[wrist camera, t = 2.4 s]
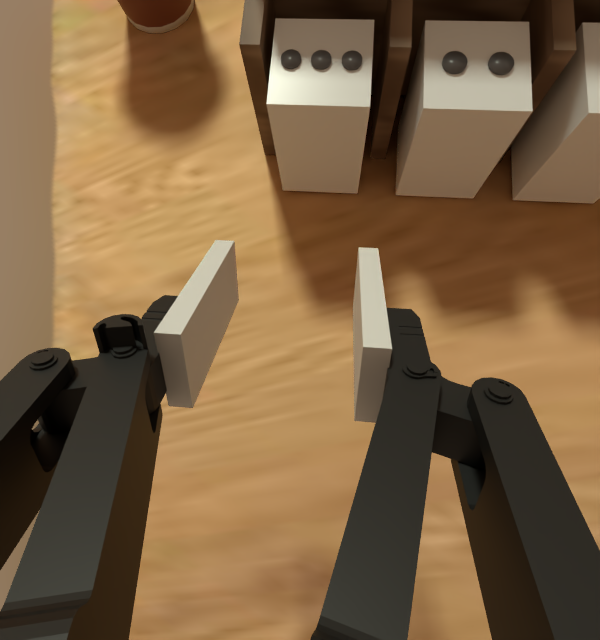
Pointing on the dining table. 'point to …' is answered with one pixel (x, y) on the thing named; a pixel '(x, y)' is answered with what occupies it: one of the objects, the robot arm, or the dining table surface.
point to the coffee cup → (157, 14)
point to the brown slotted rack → (411, 44)
